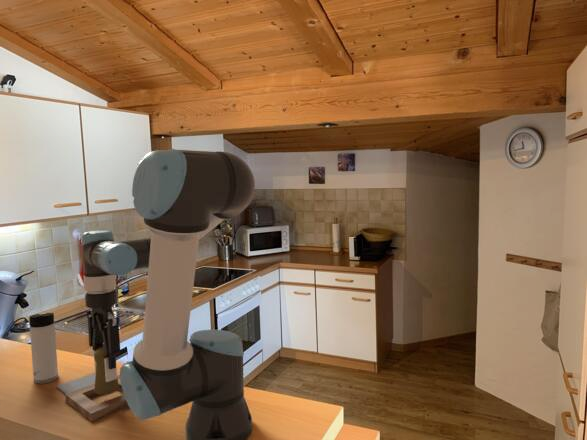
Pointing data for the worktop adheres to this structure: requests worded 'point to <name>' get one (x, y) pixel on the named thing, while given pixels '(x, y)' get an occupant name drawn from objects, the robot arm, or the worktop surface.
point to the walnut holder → (91, 409)
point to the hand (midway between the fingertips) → (106, 376)
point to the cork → (103, 375)
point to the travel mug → (43, 348)
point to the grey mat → (77, 383)
